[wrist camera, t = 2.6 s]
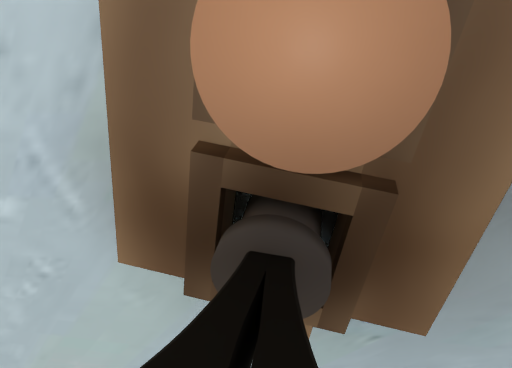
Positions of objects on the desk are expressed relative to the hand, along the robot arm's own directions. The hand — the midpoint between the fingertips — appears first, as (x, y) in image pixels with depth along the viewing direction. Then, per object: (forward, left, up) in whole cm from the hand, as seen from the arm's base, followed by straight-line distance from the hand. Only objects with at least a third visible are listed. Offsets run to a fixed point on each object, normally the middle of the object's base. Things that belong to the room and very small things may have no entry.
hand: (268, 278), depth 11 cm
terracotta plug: (0, -7, -1) cm, 7 cm away
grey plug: (0, 0, -3) cm, 3 cm away
